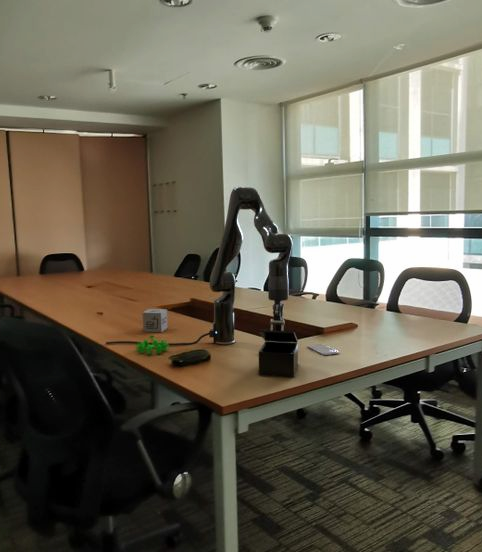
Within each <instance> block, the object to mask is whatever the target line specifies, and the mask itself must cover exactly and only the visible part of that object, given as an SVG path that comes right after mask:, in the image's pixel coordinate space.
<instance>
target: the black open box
mask: <svg viewBox="0 0 482 552" xmlns="http://www.w3.org/2000/svg"><path fill="white" fill-rule="evenodd" d="M298 365H299V342H298V343H296V342H274V341H265V340H264V343H262V346H261V347H260V349H259V351H258V376H261V377H262V376H264V377H279V378H295V375H296V371H297V369H298Z"/></svg>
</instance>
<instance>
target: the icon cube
mask: <svg viewBox="0 0 482 552" xmlns="http://www.w3.org/2000/svg"><path fill="white" fill-rule="evenodd" d="M167 329H168V309H163V308H162V309H161V308H159V309H158V308H148V309H146V310H145V311H143V312H142V332H143V333H144V332H145V333H163V332H164V331H165V330H167Z"/></svg>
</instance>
